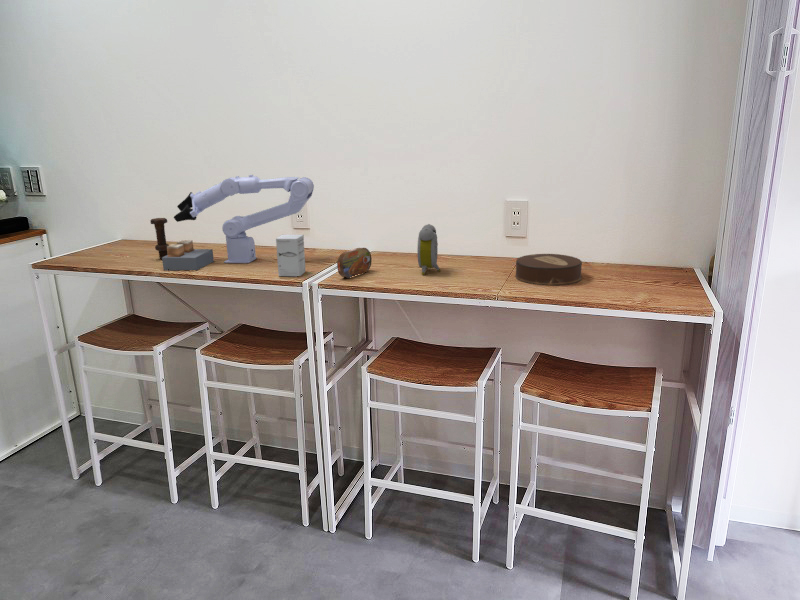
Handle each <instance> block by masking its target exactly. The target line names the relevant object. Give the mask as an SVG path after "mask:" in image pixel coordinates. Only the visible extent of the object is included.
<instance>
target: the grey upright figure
mask: <svg viewBox="0 0 800 600" xmlns="http://www.w3.org/2000/svg"><path fill="white" fill-rule="evenodd" d="M438 245H439V244H438V235H437V229H436V227H435V226H434V225H432V224H430V223H428V224H425V225H424V226H423V227H422V228H421V230H420V231H419V232H418V237H417V263H418V264H417V265H418V267H419V268H421V276H425V273H426V272H427V271H426V270H427V269H434V270H436V271H437V272H438V273H440V272H441V271H442V270H441V268H440V267H439V265H438V253H439V252H438Z"/></svg>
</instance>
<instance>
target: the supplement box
mask: <svg viewBox="0 0 800 600" xmlns="http://www.w3.org/2000/svg"><path fill="white" fill-rule="evenodd" d="M304 238H305V237H304V234H281V235H279V236H278V237H276V239H275V243H276V256H277V257H276V259H277V270H278V271H277V272H278V277H297V276H300V277H301V276H302V275H304V274H305V273H306V254H305V241H304V240H305V239H304Z"/></svg>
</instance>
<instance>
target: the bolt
mask: <svg viewBox="0 0 800 600" xmlns="http://www.w3.org/2000/svg"><path fill="white" fill-rule="evenodd" d="M149 221H150V225H154V229H155V237H156V243H157V244H156V245H154V247H155V250H156V251H157V252H158V256H159V257H158V258H159V260H160V259H162V257H164V256H167V255H168V252H167V246H170V244H168V243H167V238H166V231H165V230H166V229H165V224H166V223H168V218H167V217H166V218H165V217H156V218H155V217H154V218H152V219H150V220H149Z"/></svg>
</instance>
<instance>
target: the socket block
mask: <svg viewBox="0 0 800 600" xmlns="http://www.w3.org/2000/svg"><path fill="white" fill-rule="evenodd" d="M184 254H185V255H183V256H181V257H168V255H167V256H164V257H162V260H161V261H162V268H163V271H178V270H197V271H199V270H200V268H201V269H202V268H204V267H206V266H208V265H209V264H211V263H214V261H215V260H214V259H215V258H214V251H213V248H194V251H192V252H189V253H184ZM168 269H169V270H168ZM198 269H199V270H198Z"/></svg>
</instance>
